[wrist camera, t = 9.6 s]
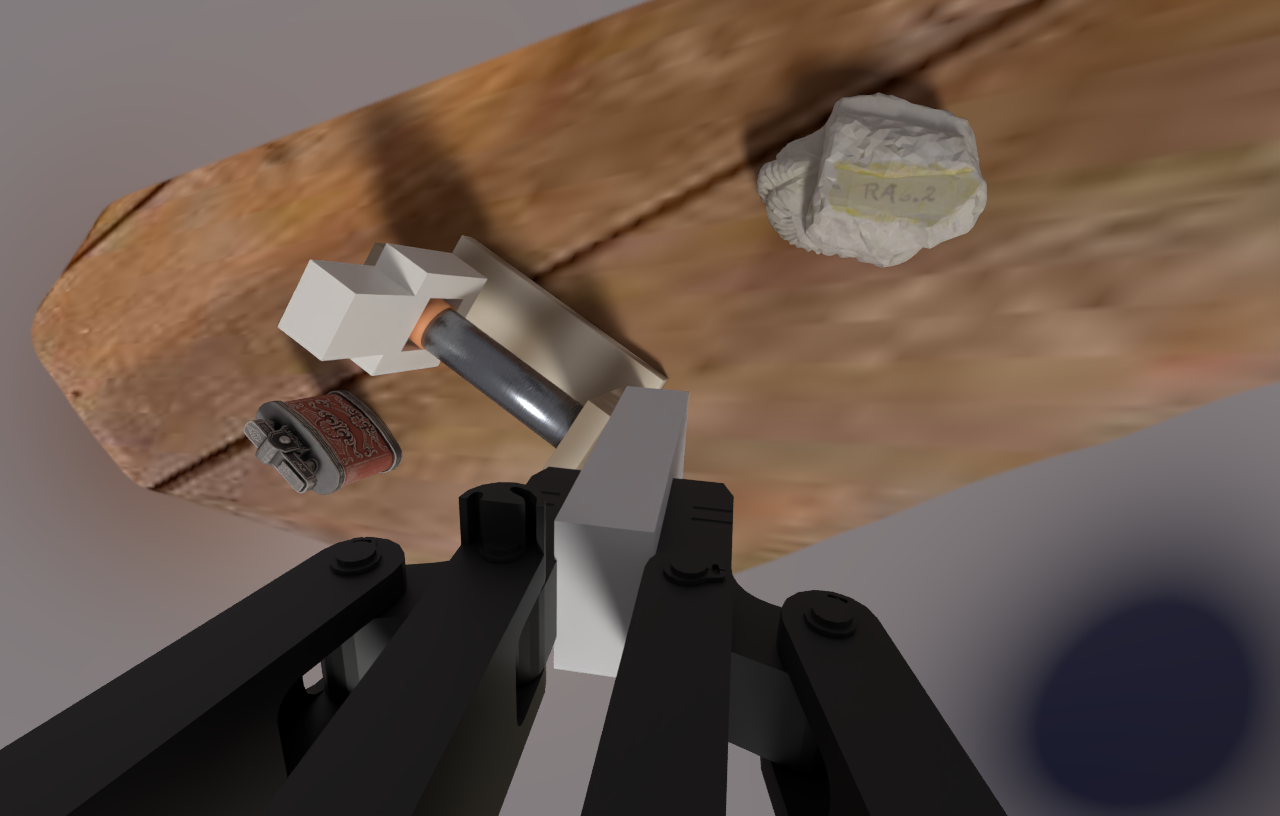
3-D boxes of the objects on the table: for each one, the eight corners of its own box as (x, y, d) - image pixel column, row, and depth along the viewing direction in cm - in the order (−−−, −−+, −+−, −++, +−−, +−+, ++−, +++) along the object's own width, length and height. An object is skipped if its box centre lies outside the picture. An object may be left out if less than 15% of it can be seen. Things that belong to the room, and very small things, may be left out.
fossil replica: (750, 145, 44) (792, 293, 45) (726, 127, 36) (778, 305, 37) (946, 68, 39) (986, 233, 41) (968, 27, 32) (1015, 233, 33)
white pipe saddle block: (487, 278, 43) (369, 267, 32) (437, 366, 45) (309, 385, 34) (452, 253, 44) (323, 232, 32) (404, 340, 46) (265, 351, 34)
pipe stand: (668, 378, 47) (627, 397, 37) (608, 466, 49) (553, 507, 39) (472, 237, 49) (382, 218, 39) (422, 327, 51) (325, 331, 41)
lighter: (321, 409, 55) (216, 429, 45) (344, 380, 54) (241, 395, 44) (386, 479, 54) (294, 516, 45) (410, 451, 53) (321, 483, 44)
